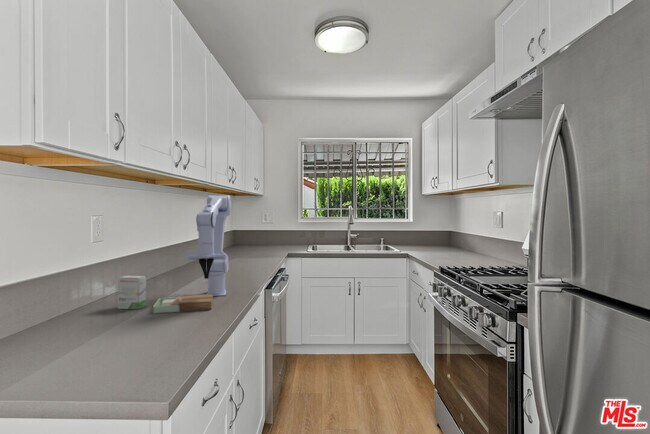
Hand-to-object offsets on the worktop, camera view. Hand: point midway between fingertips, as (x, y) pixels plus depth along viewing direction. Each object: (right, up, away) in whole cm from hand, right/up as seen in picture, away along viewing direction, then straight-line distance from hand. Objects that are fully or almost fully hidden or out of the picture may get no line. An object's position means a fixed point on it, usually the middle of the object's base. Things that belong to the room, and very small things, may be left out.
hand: (206, 278), depth 142 cm
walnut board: (-3, -10, -2) cm, 11 cm away
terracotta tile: (-9, -9, -7) cm, 14 cm away
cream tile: (-14, -8, -2) cm, 16 cm away
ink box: (-27, -11, -4) cm, 29 cm away
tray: (-13, -11, -4) cm, 17 cm away
